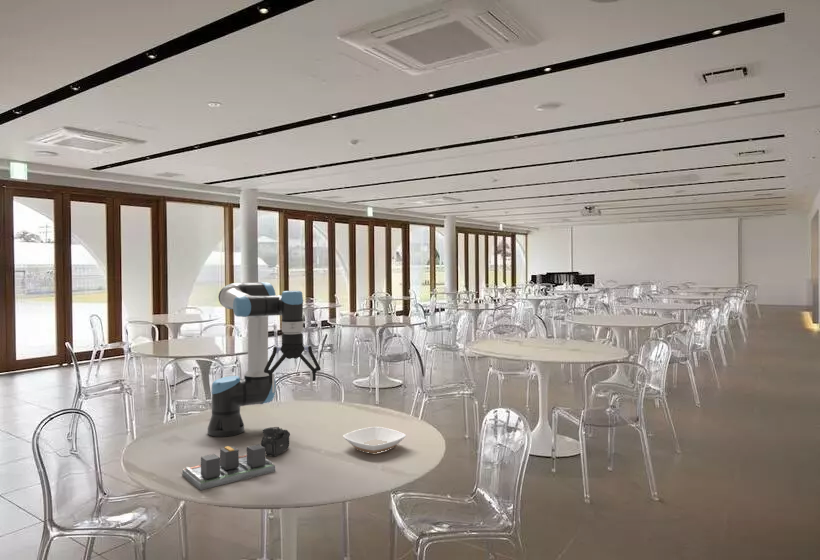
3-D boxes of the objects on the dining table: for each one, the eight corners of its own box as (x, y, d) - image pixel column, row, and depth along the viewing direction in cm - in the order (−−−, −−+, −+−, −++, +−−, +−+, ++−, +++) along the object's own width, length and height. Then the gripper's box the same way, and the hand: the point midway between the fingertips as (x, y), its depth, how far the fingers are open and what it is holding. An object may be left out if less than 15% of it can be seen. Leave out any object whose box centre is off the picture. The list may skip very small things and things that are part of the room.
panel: (182, 475, 190) (182, 466, 190) (254, 458, 206) (254, 450, 206) (200, 490, 177) (200, 480, 177) (275, 471, 193) (275, 462, 193)
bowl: (335, 448, 218) (335, 435, 218) (375, 436, 234) (375, 424, 234) (373, 461, 204) (373, 447, 203) (413, 448, 219) (413, 435, 219)
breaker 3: (246, 463, 194) (246, 446, 194) (258, 461, 197) (258, 444, 197) (253, 467, 190) (253, 450, 190) (265, 464, 193) (265, 447, 193)
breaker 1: (200, 474, 184) (200, 456, 184) (214, 471, 187) (214, 453, 187) (206, 479, 180) (206, 460, 180) (220, 475, 183) (220, 457, 183)
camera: (265, 447, 220) (265, 422, 220) (290, 446, 221) (290, 421, 221) (258, 458, 207) (258, 431, 207) (285, 457, 208) (285, 431, 208)
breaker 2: (220, 466, 192) (220, 447, 192) (232, 463, 195) (232, 445, 195) (225, 470, 188) (225, 451, 188) (238, 467, 191) (238, 448, 191)
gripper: (256, 335, 196) (257, 394, 196) (327, 333, 202) (327, 391, 203) (257, 332, 204) (257, 390, 204) (325, 331, 210) (325, 387, 210)
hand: (292, 391), depth 203 cm, fingers open, 13 cm apart
